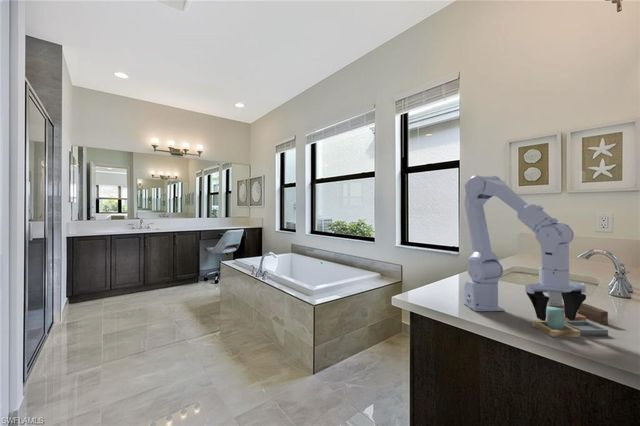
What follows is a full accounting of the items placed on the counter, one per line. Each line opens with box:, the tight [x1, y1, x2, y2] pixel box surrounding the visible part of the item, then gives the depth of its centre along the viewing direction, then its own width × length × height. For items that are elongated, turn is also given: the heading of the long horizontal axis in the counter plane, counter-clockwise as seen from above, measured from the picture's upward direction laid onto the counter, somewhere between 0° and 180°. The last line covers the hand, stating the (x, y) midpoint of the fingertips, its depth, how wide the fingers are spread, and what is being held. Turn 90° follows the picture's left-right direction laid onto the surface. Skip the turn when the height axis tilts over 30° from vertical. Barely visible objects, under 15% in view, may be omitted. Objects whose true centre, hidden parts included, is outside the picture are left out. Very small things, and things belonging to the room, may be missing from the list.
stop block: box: [577, 303, 609, 325], centre depth 82 cm, size 2×7×4 cm, turn 179°
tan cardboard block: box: [559, 307, 587, 321], centre depth 82 cm, size 5×7×2 cm
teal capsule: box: [546, 306, 564, 330], centre depth 75 cm, size 4×4×6 cm
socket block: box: [531, 319, 581, 338], centre depth 75 cm, size 7×7×2 cm
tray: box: [564, 320, 609, 337], centre depth 75 cm, size 7×6×2 cm
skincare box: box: [538, 266, 564, 307], centre depth 96 cm, size 6×4×12 cm
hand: (555, 319), depth 75 cm, fingers open, 7 cm apart
